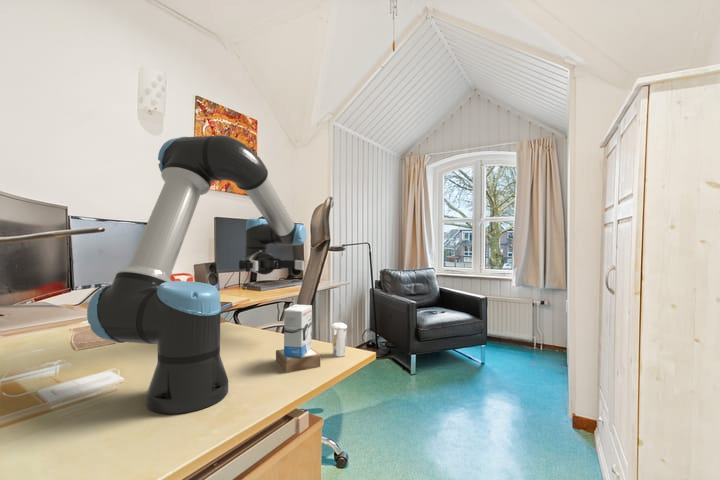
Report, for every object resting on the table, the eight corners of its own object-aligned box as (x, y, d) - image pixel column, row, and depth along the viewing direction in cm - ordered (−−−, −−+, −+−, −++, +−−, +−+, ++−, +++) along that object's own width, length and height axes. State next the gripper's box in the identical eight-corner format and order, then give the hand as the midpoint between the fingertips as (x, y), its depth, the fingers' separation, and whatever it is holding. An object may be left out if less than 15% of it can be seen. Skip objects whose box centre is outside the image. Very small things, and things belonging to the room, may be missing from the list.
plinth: (286, 373, 85) (286, 360, 85) (275, 361, 93) (275, 349, 93) (320, 366, 89) (320, 354, 89) (307, 356, 97) (307, 344, 97)
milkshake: (349, 358, 96) (349, 321, 96) (329, 357, 96) (330, 321, 96) (350, 352, 101) (350, 318, 100) (331, 352, 101) (332, 317, 101)
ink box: (301, 358, 86) (301, 310, 86) (282, 356, 87) (283, 309, 87) (312, 347, 95) (312, 304, 95) (295, 346, 96) (295, 303, 96)
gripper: (223, 251, 112) (235, 252, 94) (297, 252, 124) (321, 253, 106) (223, 274, 112) (235, 280, 93) (297, 273, 124) (320, 277, 106)
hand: (280, 265), depth 100 cm, fingers open, 13 cm apart
